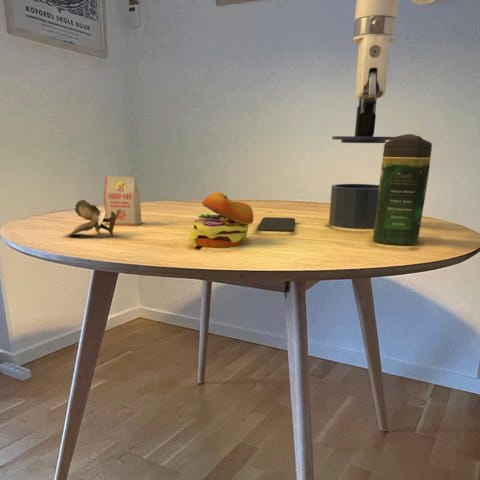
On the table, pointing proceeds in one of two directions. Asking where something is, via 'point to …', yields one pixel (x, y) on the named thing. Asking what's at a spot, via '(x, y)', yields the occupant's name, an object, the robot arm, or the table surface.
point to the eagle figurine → (93, 218)
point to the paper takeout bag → (122, 200)
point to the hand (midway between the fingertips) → (364, 135)
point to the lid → (361, 138)
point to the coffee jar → (402, 190)
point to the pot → (353, 205)
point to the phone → (276, 224)
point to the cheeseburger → (221, 223)
